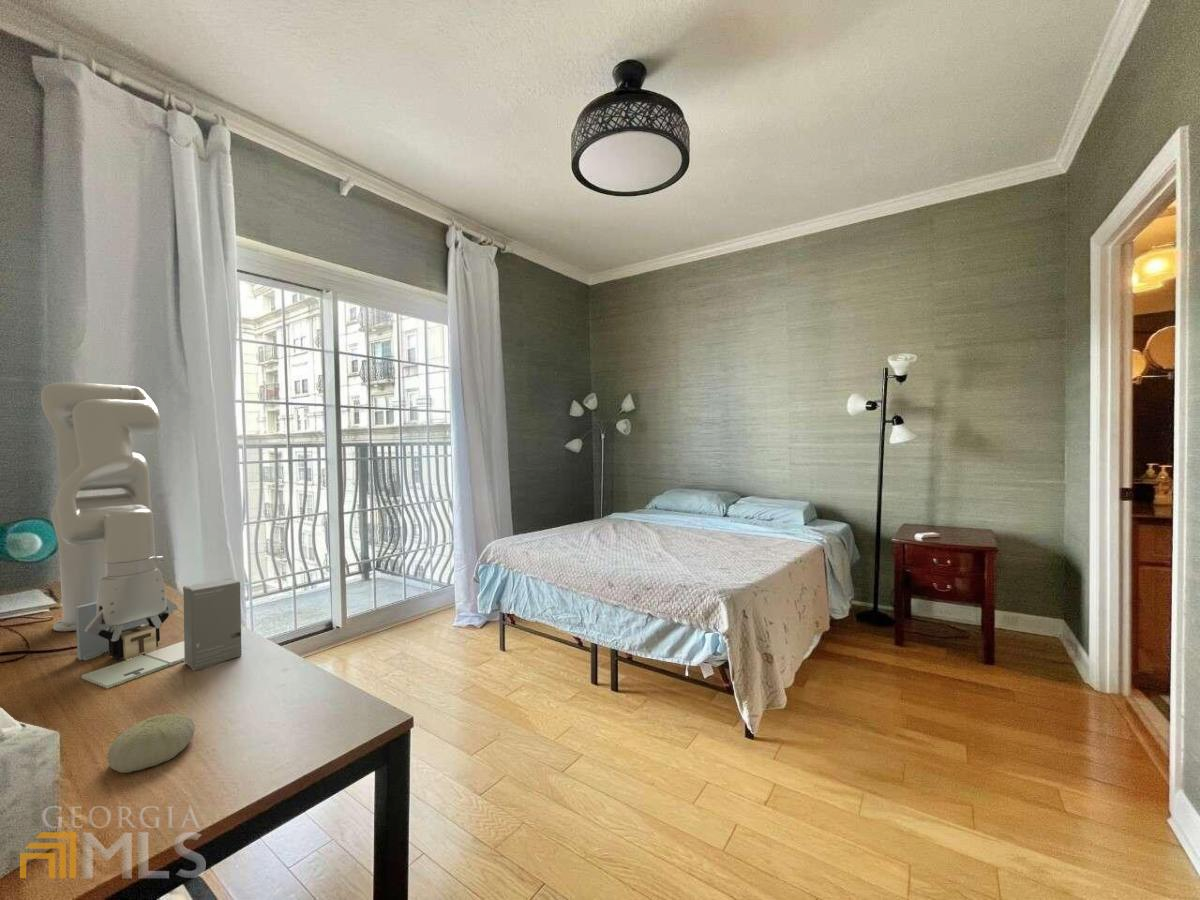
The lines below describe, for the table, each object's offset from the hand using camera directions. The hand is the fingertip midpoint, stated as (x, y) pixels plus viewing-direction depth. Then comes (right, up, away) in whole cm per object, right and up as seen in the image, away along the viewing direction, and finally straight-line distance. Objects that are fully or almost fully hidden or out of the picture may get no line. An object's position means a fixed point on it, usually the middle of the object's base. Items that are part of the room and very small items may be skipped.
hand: (135, 651), depth 101 cm
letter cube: (0, -1, 0) cm, 1 cm away
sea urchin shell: (+35, -1, -33) cm, 48 cm away
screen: (-7, -1, +3) cm, 8 cm away
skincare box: (+19, -1, -3) cm, 20 cm away
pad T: (+6, -1, -8) cm, 10 cm away
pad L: (+10, 0, +1) cm, 10 cm away
